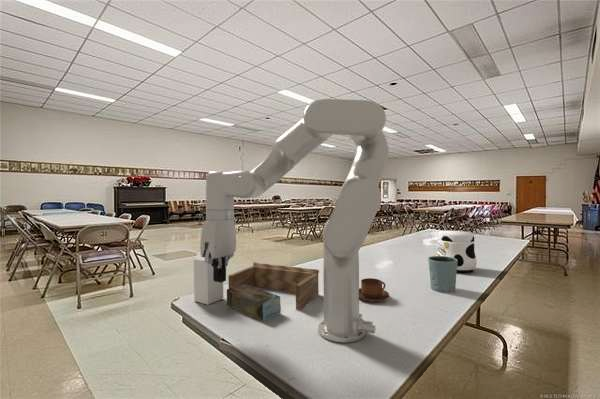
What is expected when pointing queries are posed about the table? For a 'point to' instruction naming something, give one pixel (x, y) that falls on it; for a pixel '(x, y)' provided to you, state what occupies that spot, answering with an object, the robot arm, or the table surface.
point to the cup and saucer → (372, 290)
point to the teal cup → (443, 273)
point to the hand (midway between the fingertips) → (219, 281)
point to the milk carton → (205, 282)
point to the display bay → (280, 280)
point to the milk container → (458, 248)
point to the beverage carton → (254, 301)
